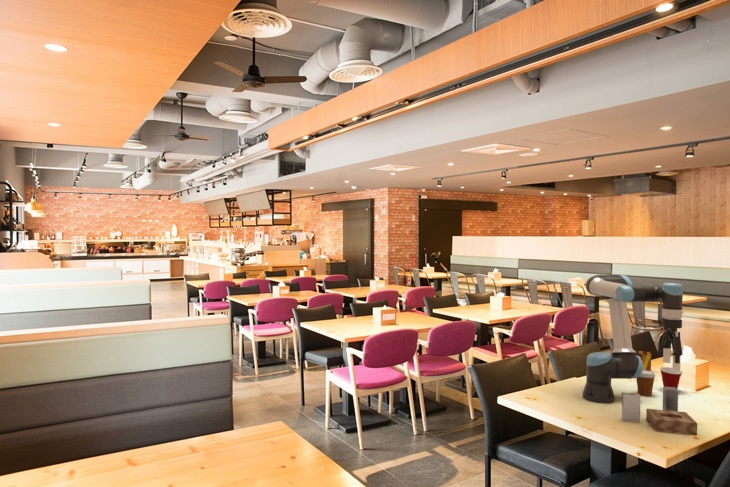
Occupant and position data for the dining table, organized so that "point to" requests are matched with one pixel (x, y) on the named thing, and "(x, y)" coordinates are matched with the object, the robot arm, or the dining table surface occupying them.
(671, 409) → the square steel bar
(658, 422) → the socket block
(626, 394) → the pale grey rectangular block
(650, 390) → the disposable coffee cup
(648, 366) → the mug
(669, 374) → the plastic cup
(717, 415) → the dining table surface
